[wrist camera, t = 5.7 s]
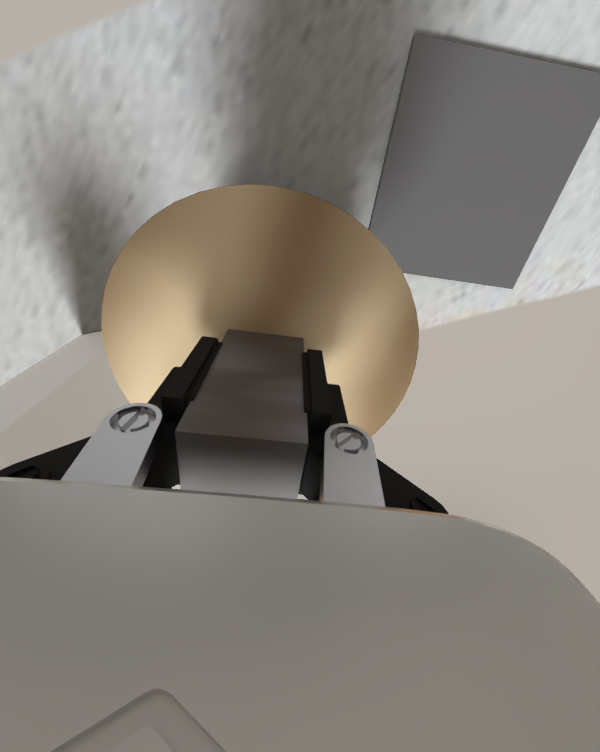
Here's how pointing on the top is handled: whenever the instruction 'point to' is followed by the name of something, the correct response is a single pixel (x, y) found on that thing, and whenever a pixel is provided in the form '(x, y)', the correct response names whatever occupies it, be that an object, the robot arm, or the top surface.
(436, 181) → the mat
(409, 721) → the robot arm
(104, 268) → the top surface
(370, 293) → the lid
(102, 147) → the top surface
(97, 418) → the milk
